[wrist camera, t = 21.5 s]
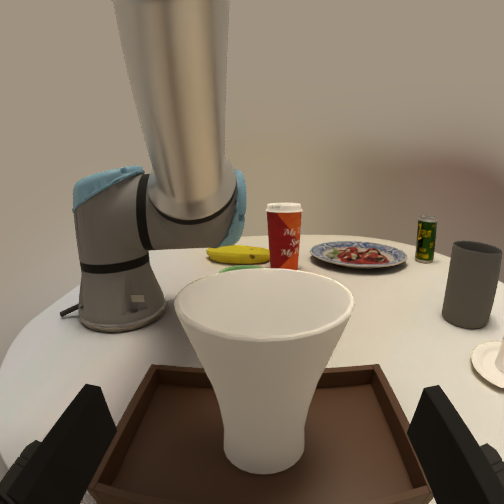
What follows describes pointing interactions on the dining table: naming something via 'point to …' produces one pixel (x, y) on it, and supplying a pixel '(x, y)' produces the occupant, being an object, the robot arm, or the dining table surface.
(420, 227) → the green soda can
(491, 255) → the mug
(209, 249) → the banana
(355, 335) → the dining table surface
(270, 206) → the coffee cup
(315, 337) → the cup
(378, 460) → the tray
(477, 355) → the candle holder
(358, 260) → the ceramic plate
